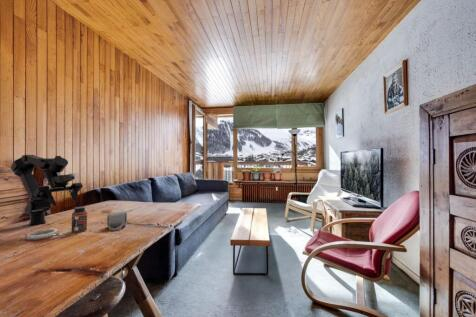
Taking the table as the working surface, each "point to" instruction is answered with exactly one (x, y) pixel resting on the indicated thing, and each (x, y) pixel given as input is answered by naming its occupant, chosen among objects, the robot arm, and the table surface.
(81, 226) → the supplement bottle
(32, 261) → the table surface
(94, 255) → the table surface
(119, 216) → the ceramic mug
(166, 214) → the table surface
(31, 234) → the ring seat
